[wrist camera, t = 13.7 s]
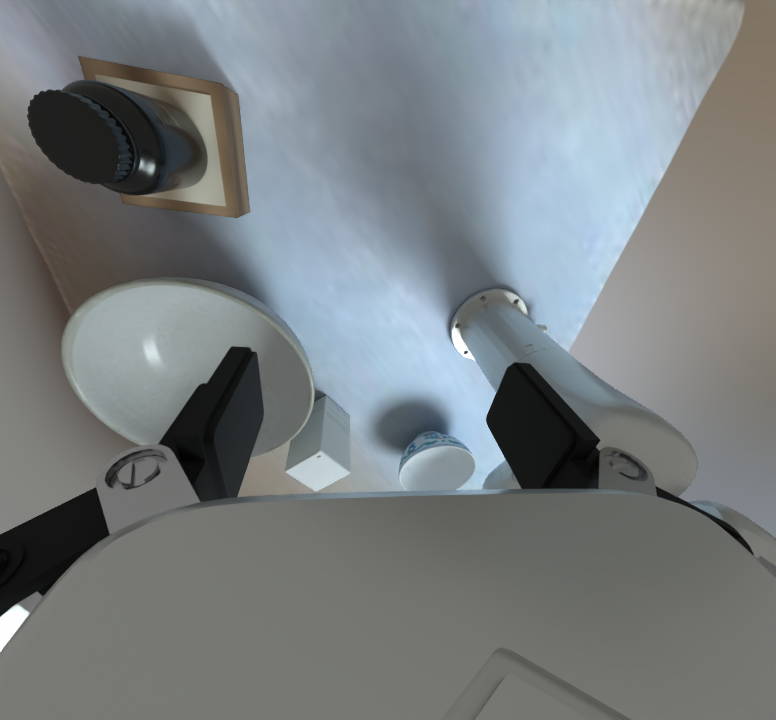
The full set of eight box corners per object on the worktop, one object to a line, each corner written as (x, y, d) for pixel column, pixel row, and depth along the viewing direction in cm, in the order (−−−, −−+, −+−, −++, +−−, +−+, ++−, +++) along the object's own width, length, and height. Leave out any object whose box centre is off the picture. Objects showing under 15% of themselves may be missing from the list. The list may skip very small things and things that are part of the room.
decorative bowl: (313, 413, 55) (305, 468, 45) (149, 398, 50) (99, 457, 39) (331, 271, 41) (325, 305, 31) (107, 229, 36) (13, 254, 26)
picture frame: (238, 94, 31) (219, 82, 26) (250, 212, 36) (236, 218, 32) (117, 72, 29) (76, 55, 24) (150, 199, 35) (121, 203, 30)
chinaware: (477, 427, 62) (491, 457, 56) (439, 470, 69) (448, 501, 62) (416, 407, 57) (424, 437, 51) (381, 456, 64) (385, 488, 57)
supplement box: (295, 413, 55) (282, 471, 44) (326, 393, 53) (321, 449, 43) (321, 434, 58) (315, 493, 48) (351, 417, 57) (352, 474, 46)
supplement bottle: (111, 112, 27) (-33, 79, 17) (183, 90, 26) (81, 44, 16) (160, 197, 30) (68, 212, 20) (224, 179, 30) (162, 185, 20)
